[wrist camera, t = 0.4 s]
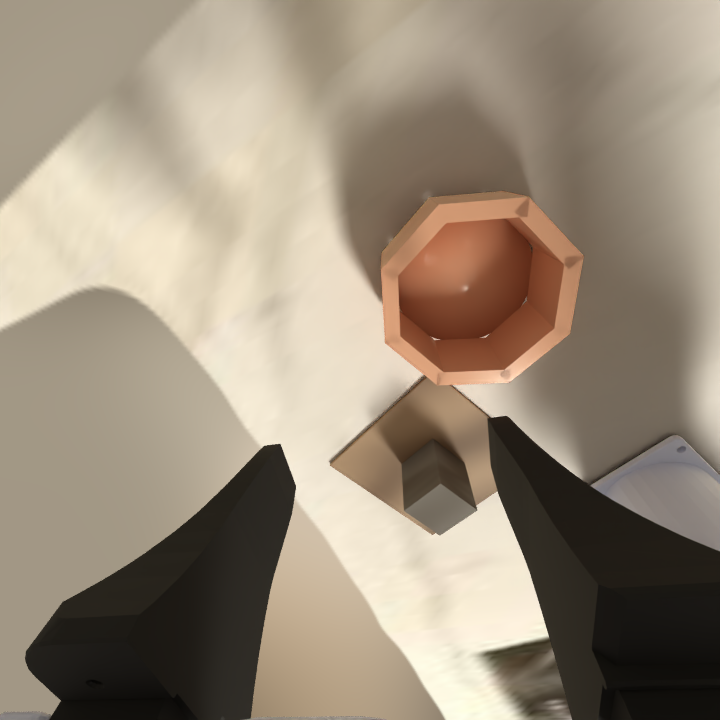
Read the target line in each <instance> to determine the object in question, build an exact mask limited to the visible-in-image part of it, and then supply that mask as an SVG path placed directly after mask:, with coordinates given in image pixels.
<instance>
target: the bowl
mask: <svg viewBox="0 0 720 720" xmlns="http://www.w3.org/2000/svg"><path fill="white" fill-rule="evenodd" d="M528 242H529V243H530V244H531V246H532V247H533V252H532V253H531V248H530V246H529V243H528ZM583 258H584V255H582V254H581V253H580V251H579V250H578V249H577V248H576V247H575V246H574V245H573V244H572V243H571V242H570V241H569V240H568V238H567V237H566V236H565V235H564V234H563V233H562V232H561V231H560V230H559V229H558V228H557V227H556V225H555V224H554V223H553V222H552V221H551V220H550V219H549V218H548V217H547V216H546V215H545V214H544V212H543V211H542V210H541V209H540V208H539V207H538V206H537V205H536V204H535V203H534V202H533V201H532V199H531V198H530V197H529V196H524V195H520V194H515V193H511V192H506V191H496V192H485V193H473V194H461V195H449V196H438V197H429V198H428V199H427V200H426V201H425V203H424V204H423V205H422V206H421V207H420V208H419V210H418V211H417V212H416V213H415V214H414V215H413V217H412V218H411V219H410V220H409V221H408V222H407V223H406V225H405V226H404V227H403V228H402V229H401V230H400V232H399V233H398V234H397V235H396V236H395V237H394V238H393V240H392V241H391V242H390V243H389V244H388V245H387V247H386V248H385V249H384V250H383V251H382V252H381V270H380V271H381V281H382V298H383V315H384V332H385V343H386V344H387V345H388V346H389V347H391V348H392V349H393V350H394V351H396V352H397V353H398V354H399V355H400V356H402V357H403V358H404V359H405V360H407V361H408V362H409V363H410V364H412V365H413V366H414V367H415V368H416V369H418V370H419V371H420V372H421V373H423V374H424V375H425V376H426V377H427V378H429V379H430V380H431V381H432V382H434V383H435V384H436V385H437V386H438V385H461V384H486V383H510V382H511V381H512V380H513V379H514V378H516V377H517V376H518V375H519V374H521V373H522V372H523V371H524V370H526V369H527V368H528V367H529V366H530V365H532V364H533V363H534V362H535V361H537V360H538V359H539V358H540V357H542V356H543V355H544V354H545V353H547V352H548V351H549V350H550V349H552V348H553V347H554V346H555V345H557V344H558V343H559V342H560V341H562V340H563V339H564V338H565V337H566V336H568V335H569V334H570V331H571V326H572V320H573V314H574V309H575V303H576V298H577V292H578V286H579V281H580V275H581V269H582V264H583ZM526 296H527V302H525V303H524V304H523V302H524V301H525V298H526ZM522 304H523V305H522ZM521 305H522V306H521ZM399 306H400V309H401V310H402V312H403V313H402V312H401V311H400V310H399ZM490 333H491V334H490ZM488 334H489V335H488ZM486 335H488V336H487V337H486V338H480V337H483V336H486ZM430 336H431V337H433V338H436V339H440V340H434V339H433V338H431V337H430Z"/></svg>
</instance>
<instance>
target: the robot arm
mask: <svg viewBox="0 0 720 720" xmlns="http://www.w3.org/2000/svg"><path fill="white" fill-rule="evenodd" d="M487 421H488V436H489V450H490V464H491V469H492V473H493V476H494V480H495V484H496V487H497V491H498V494H499V497H500V499H501V502H502V504H503V507H504V509H505V511H506V514H507V516H508V519H509V521H510V524H511V526H512V528H513V531H514V533H515V536H516V538H517V541H518V543H519V545H520V548H521V550H522V553H523V555H524V558H525V560H526V563H527V566H528V569H529V571H530V574H531V578H532V581H533V584H534V588H535V591H536V594H537V597H538V601H539V604H540V607H541V611H542V614H543V617H544V621H545V624H546V628H547V631H548V634H549V638H550V641H551V645H552V648H553V652H554V655H555V659H556V662H557V666H558V669H559V673H560V677H561V680H562V684H563V687H564V691H565V695H566V698H567V702H568V706H569V709H570V713H571V717H572V720H720V475H719V474H718V473H717V472H716V471H715V470H714V469H713V468H712V467H711V466H710V465H709V464H708V463H707V462H706V461H705V460H704V459H703V458H702V457H701V456H700V455H699V454H698V453H697V452H696V451H695V450H694V449H693V448H692V447H691V446H690V445H689V444H688V443H687V442H686V441H685V440H684V439H683V438H682V437H681V436H679V435H673V436H670V437H668V438H667V439H665V440H663V441H662V442H660V443H658V444H657V445H655V446H654V447H652V448H650V449H649V450H647V451H645V452H644V453H642V454H641V455H639V456H637V457H636V458H634V459H632V460H631V461H629V462H628V463H626V464H624V465H623V466H621V467H619V468H618V469H616V470H614V471H613V472H611V473H610V474H608V475H606V476H605V477H603V478H601V479H600V480H598V481H597V482H595V483H593V484H592V485H588V484H587V483H585V482H584V481H582V480H581V479H580V478H578V477H577V476H575V475H574V474H573V473H571V472H570V471H569V470H567V469H566V468H565V467H563V466H562V465H561V464H560V463H558V462H557V461H556V460H555V459H553V458H552V457H551V456H550V455H549V454H548V453H546V452H545V451H544V450H543V449H542V448H541V447H539V446H538V445H537V444H536V443H535V442H534V441H533V440H532V439H530V438H529V437H528V436H527V435H526V434H525V433H524V432H523V431H522V430H521V429H520V428H519V427H518V426H517V425H516V424H515V423H514V422H513V421H512V420H511V419H510V418H509V417H507V416H502V417H494V418H487ZM679 447H680V448H679ZM295 490H296V485H295V482H294V480H293V477H292V474H291V471H290V469H289V466H288V463H287V461H286V458H285V455H284V453H283V450H282V447H281V444H275V445H267V446H264V447H263V448H262V449H260V450H259V452H257V453H256V455H255V456H254V457H253V458H252V459H251V460H250V461H249V462H248V463H247V464H246V465H245V466H244V467H243V468H242V469H241V470H240V471H239V472H238V473H237V474H236V475H235V477H234V478H233V479H232V480H231V481H230V482H229V483H228V484H227V485H226V486H225V487H224V488H223V489H222V490H221V491H220V492H219V493H218V494H217V495H216V496H214V497H213V498H212V499H211V500H210V501H209V502H208V503H207V504H206V505H205V506H204V507H203V508H202V509H201V510H200V511H199V512H197V514H195V515H194V516H193V517H192V518H191V519H189V520H188V521H187V522H186V523H185V524H183V525H182V526H181V527H180V528H178V529H177V530H176V531H175V532H173V533H172V534H171V535H169V536H168V537H167V538H165V539H164V540H163V541H161V542H160V543H158V544H157V545H156V546H154V547H153V548H151V549H150V550H149V551H147V552H146V553H145V554H143V555H142V556H140V557H139V558H137V559H136V560H134V561H133V562H131V563H130V564H128V565H127V566H125V567H124V568H122V569H120V570H118V571H117V572H115V573H114V574H112V575H110V576H109V577H107V578H105V579H104V580H102V581H100V582H98V583H97V584H95V585H93V586H91V587H90V588H87V589H86V590H84V591H82V592H80V593H79V594H77V595H75V596H73V597H71V598H69V599H67V600H66V601H64V602H62V604H61V605H60V607H59V608H58V609H57V610H56V612H55V613H54V614H53V616H52V617H51V619H50V620H49V621H48V623H47V624H46V625H45V627H44V628H43V629H42V631H41V632H40V633H39V635H38V636H37V638H36V639H35V640H34V641H33V643H32V644H31V645H30V647H29V648H28V649H27V651H26V656H25V660H26V664H27V666H28V669H29V670H30V671H31V672H32V674H33V675H34V676H35V677H36V678H37V679H38V680H39V681H40V682H41V683H43V684H44V685H45V686H46V687H47V688H48V689H49V690H50V691H51V692H52V693H53V694H54V695H55V696H57V697H58V698H59V699H60V700H61V702H60V703H59V705H58V707H57V708H56V710H55V711H54V713H53V715H52V716H51V715H50V714H47V713H43V712H4V713H2V714H0V720H386V719H380V718H372V717H363V716H360V717H359V716H355V717H354V716H351V717H350V716H346V717H258V718H251V711H252V701H253V693H254V686H255V679H256V672H257V664H258V657H259V650H260V644H261V638H262V632H263V626H264V620H265V615H266V610H267V604H268V599H269V594H270V589H271V584H272V580H273V577H274V573H275V570H276V566H277V563H278V560H279V556H280V553H281V549H282V546H283V542H284V539H285V536H286V532H287V529H288V526H289V522H290V518H291V515H292V509H293V504H294V497H295Z"/></svg>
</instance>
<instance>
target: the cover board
mask: <svg viewBox="0 0 720 720" xmlns="http://www.w3.org/2000/svg"><path fill="white" fill-rule="evenodd" d="M487 418H490V417H489V416H487V415H486V414H485V413H484V412H483V411H481V410H480V409H479V408H478V407H477V406H475V405H474V404H473V403H472V402H470V401H469V400H468V399H467V398H466V397H464V396H463V395H462V394H461V393H460V392H458V391H457V390H456V389H455V388H454V387H452V386H451V385H438V386H437V385H436V384H435V383H434V382H432V381H431V380H430V379H429V378H427V377H425V378H424V379H423V380H422V381H421V382H419V383H418V384H417V385H416V386H415V387H414V388H413V389H412V390H411V391H410V392H408V393H407V394H406V395H405V396H404V397H403V398H402V399H401V400H400V401H399V402H397V403H396V404H395V405H394V406H393V407H392V408H391V409H390V410H389V411H387V412H386V413H385V414H384V415H383V416H382V417H381V418H380V419H379V420H378V421H376V422H375V423H374V424H373V425H372V426H371V427H370V428H369V429H368V430H367V431H365V432H364V433H363V434H362V435H361V436H360V437H359V438H358V439H357V440H356V441H354V442H353V443H352V444H351V445H350V446H349V447H348V448H347V449H346V450H344V451H343V452H342V453H341V454H340V455H339V456H338V457H337V458H336V459H335V460H333V461H332V462H331V463H330V466H332V467H333V468H334V469H336V470H337V471H339V472H340V473H342V474H343V475H345V476H346V477H348V478H349V479H351V480H352V481H354V482H355V483H357V484H358V485H360V486H361V487H363V488H364V489H365V490H367V491H368V492H370V493H371V494H373V495H374V496H376V497H377V498H379V499H380V500H382V501H383V502H385V503H386V504H388V505H389V506H391V507H392V508H393V509H395V510H396V511H398V512H399V513H401V514H402V515H404V516H405V517H407V518H408V519H410V520H411V521H413V522H414V523H416V524H417V525H419V526H420V527H422V528H423V529H424V530H426V531H427V532H429V533H430V534H432V535H433V534H435V533H437V534H438V535H441V534H443V533H444V532H446V531H447V530H449V529H450V528H452V527H453V526H455V525H456V524H458V523H459V522H461V521H462V520H464V519H465V518H467V517H468V516H470V515H471V514H473V513H474V512H476V511H477V507H476V505H477V504H479V503H480V502H482V501H483V500H485V499H486V498H488V497H489V496H491V495H492V494H494V493H495V492H496V491H497V487H496V484H495V480H494V476H493V473H492V469H491V464H490V450H489V436H488V421H487Z"/></svg>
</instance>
